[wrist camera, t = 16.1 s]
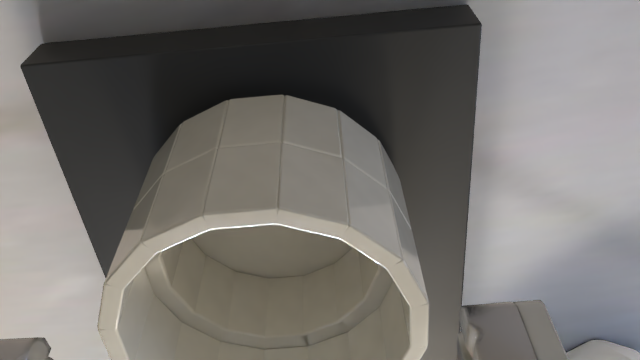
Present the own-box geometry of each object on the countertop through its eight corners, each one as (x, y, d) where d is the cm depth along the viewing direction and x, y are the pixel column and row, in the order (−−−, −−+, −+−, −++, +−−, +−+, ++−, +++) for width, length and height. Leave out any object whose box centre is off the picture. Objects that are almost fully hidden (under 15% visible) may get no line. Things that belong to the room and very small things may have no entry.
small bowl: (121, 98, 15) (50, 226, 11) (396, 73, 14) (432, 194, 10) (181, 293, 19) (147, 442, 14) (399, 275, 18) (426, 422, 14)
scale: (40, 43, 15) (-11, 95, 13) (468, 3, 15) (501, 50, 12) (168, 387, 23) (152, 460, 21) (447, 367, 23) (464, 438, 21)
